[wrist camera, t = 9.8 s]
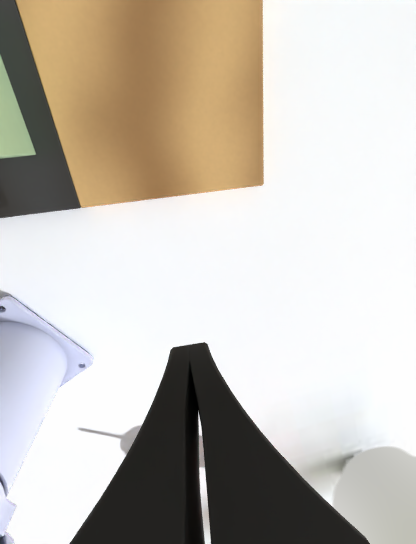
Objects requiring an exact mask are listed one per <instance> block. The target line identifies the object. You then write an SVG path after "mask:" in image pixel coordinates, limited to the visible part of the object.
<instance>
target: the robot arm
mask: <svg viewBox="0 0 416 544" xmlns="http://www.w3.org/2000/svg"><path fill="white" fill-rule="evenodd" d="M0 306H3V307H4V308H5V309H3V308H1V307H0V544H14V540H13V539H12V537H11V536H10V534H9V533H7V532H5V531H6V529H7V527H8V525H9V522H10V520H11V518H12V515H13V513H14V511H15V509H16V505H15V504H14V503H12V502H10V501H9V500H8V499H7V498H6V497H7V495H8V493H9V491H10V489H11V487H12V485H13V482H14V480H15V478H16V476H17V474H18V472H19V470H20V468H21V466H22V464H23V462H24V459H25V457H26V455H27V453H28V451H29V449H30V447H31V445H32V443H33V441H34V439H35V437H36V434H37V432H38V430H39V428H40V426H41V424H42V422H43V420H44V418H45V416H46V414H47V411H48V409H49V407H50V405H51V403H52V401H53V399H54V397H55V395H56V393H57V391H58V389H59V387H61V386H62V385H64V384H65V383H66V382H68V381H69V380H71V379H72V378H74V377H75V376H77V375H78V374H79V373H81V372H82V371H84V370H85V369H87V368H88V367H89V366H91V365H92V364H93V361H94V358H93V357H92V356H91V355H90V354H89V353H87V352H86V351H85V350H83V349H82V348H80V347H79V346H78V345H76V344H75V343H74V342H72V341H71V340H70V339H68V338H67V337H66V336H64V335H63V334H61V333H60V332H59V331H57V330H56V329H55V328H53V327H52V326H51V325H49V324H48V323H47V322H45V321H44V320H43V319H41V318H40V317H38V316H37V315H36V314H34V313H33V312H32V311H30V310H29V309H28V308H26V307H25V306H24V305H22V304H21V303H19V302H18V301H17V300H15V299H14V298H12V297H9V296H5V297H3V298H1V299H0ZM81 363H83V364H81ZM198 411H199V416H200V421H201V426H202V437H203V448H204V460H205V472H206V484H207V496H208V509H209V521H210V534H211V544H370V543H369V542H368V540H367V539H366V538H365V537H364V536H363V535H362V534H361V533H360V532H359V531H358V530H357V529H356V528H355V527H354V526H352V525H351V524H350V523H349V522H348V521H347V520H346V519H345V518H344V517H343V516H341V515H340V514H339V513H338V512H337V511H336V510H335V509H334V508H333V507H332V506H331V505H330V504H329V503H328V502H327V501H326V500H325V499H323V498H322V497H321V496H320V495H319V494H318V493H317V492H316V491H315V490H314V489H313V488H312V487H311V486H310V485H309V484H308V483H307V482H306V481H305V480H304V479H303V478H302V477H301V476H300V474H299V473H298V472H297V471H296V470H295V469H294V468H293V467H292V466H291V465H290V464H289V463H288V462H287V460H286V459H285V458H284V457H283V456H282V455H281V454H280V453H279V452H278V451H277V450H276V449H275V448H274V446H273V445H272V444H271V443H270V442H269V440H268V439H267V438H266V437H265V436H264V435H263V433H262V432H261V431H260V430H259V428H258V427H257V426H256V425H255V423H254V422H253V421H252V420H251V418H250V417H249V416H248V414H247V413H246V412H245V410H244V409H243V408H242V406H241V405H240V403H239V402H238V400H237V399H236V398H235V396H234V395H233V393H232V392H231V390H230V388H229V387H228V385H227V384H226V382H225V380H224V379H223V377H222V375H221V373H220V372H219V370H218V368H217V366H216V364H215V362H214V360H213V358H212V356H211V353H210V351H209V348H208V344H206V343H205V342H204V343H198V344H192V345H185V346H179V347H173V348H172V349H171V351H170V355H169V359H168V363H167V366H166V369H165V372H164V375H163V378H162V381H161V383H160V386H159V388H158V391H157V393H156V396H155V398H154V401H153V403H152V405H151V407H150V410H149V412H148V414H147V416H146V418H145V420H144V423H143V425H142V427H141V429H140V431H139V433H138V435H137V437H136V438H135V440H134V442H133V444H132V446H131V448H130V450H129V451H128V453H127V455H126V457H125V459H124V460H123V462H122V464H121V465H120V467H119V469H118V470H117V472H116V474H115V475H114V477H113V479H112V481H111V482H110V484H109V485H108V487H107V489H106V490H105V492H104V493H103V495H102V496H101V498H100V500H99V501H98V503H97V504H96V505H95V507H94V508H93V510H92V511H91V513H90V514H89V516H88V517H87V519H86V520H85V522H84V523H83V525H82V526H81V528H80V529H79V531H78V532H77V534H76V535H75V537H74V538H73V540H72V541H71V542H70V544H205V541H204V530H203V519H202V508H201V497H200V480H199V425H198Z"/></svg>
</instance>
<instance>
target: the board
mask: <svg viewBox="0 0 416 544" xmlns="http://www.w3.org/2000/svg"><path fill="white" fill-rule="evenodd" d="M0 55H1V58H2V61H3V64H4V66H5V69H6V72H7V75H8V78H9V80H10V83H11V86H12V89H13V91H14V94H15V97H16V100H17V103H18V105H19V108H20V111H21V114H22V116H23V119H24V122H25V125H26V128H27V130H28V133H29V136H30V139H31V142H32V144H33V147H34V150H35V153H36V155H30V156H21V157H12V158H3V159H0V218H5V217H13V216H21V215H29V214H37V213H45V212H53V211H61V210H69V209H77V208H81V207H82V208H84V207H93V206H101V205H109V204H117V203H125V202H133V201H141V200H149V199H157V198H165V197H173V196H181V195H189V194H197V193H205V192H213V191H221V190H229V189H237V188H245V187H253V186H261V185H263V184H264V180H263V0H0Z"/></svg>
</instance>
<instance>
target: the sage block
mask: <svg viewBox="0 0 416 544" xmlns="http://www.w3.org/2000/svg"><path fill="white" fill-rule="evenodd" d="M30 155H36V153H35V150H34V147H33V144H32V142H31V139H30V136H29V133H28V130H27V128H26V125H25V122H24V119H23V116H22V114H21V111H20V108H19V105H18V103H17V100H16V97H15V94H14V91H13V89H12V86H11V83H10V80H9V78H8V75H7V72H6V69H5V66H4V64H3V61H2V58H1V55H0V159H3V158H12V157H21V156H30Z"/></svg>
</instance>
